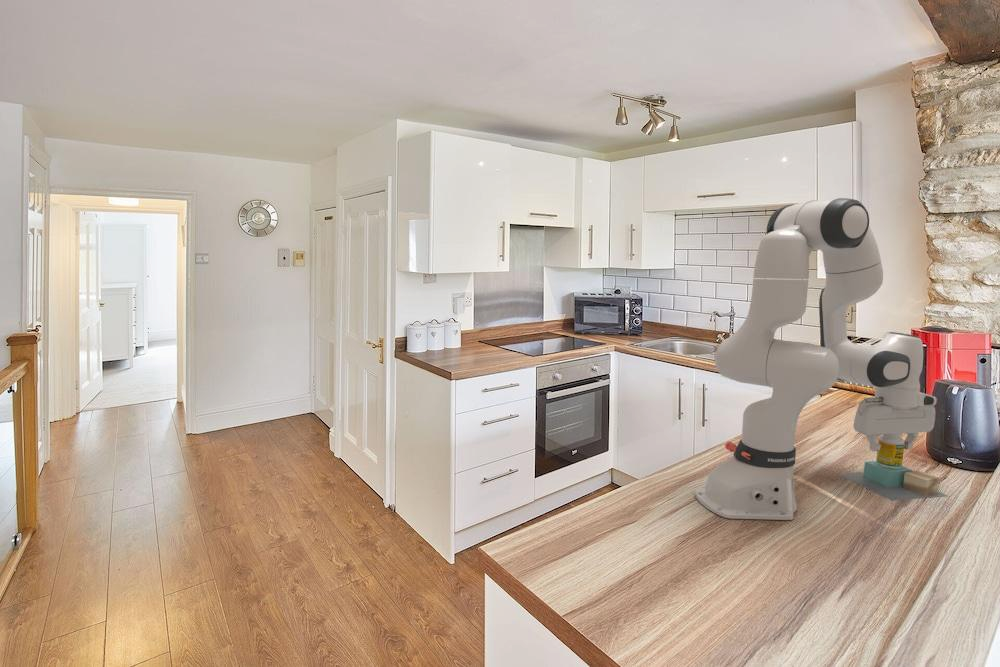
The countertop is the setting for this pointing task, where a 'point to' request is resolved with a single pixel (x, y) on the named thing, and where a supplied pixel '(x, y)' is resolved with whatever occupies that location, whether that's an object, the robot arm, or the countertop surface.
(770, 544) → the countertop surface
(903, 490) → the plate
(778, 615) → the countertop surface
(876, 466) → the base brick
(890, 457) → the supplement bottle
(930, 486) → the brick
